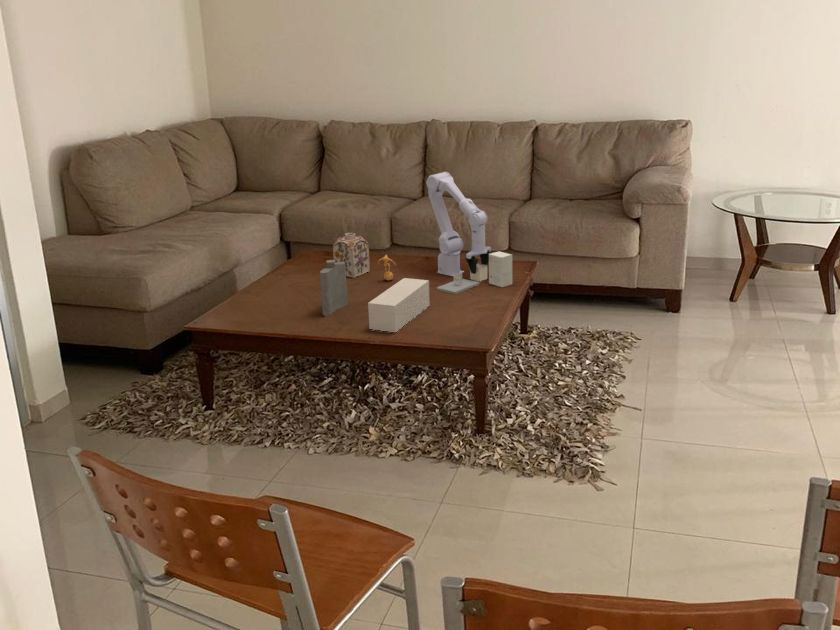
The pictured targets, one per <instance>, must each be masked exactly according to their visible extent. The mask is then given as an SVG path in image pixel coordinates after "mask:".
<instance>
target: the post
mask: <svg viewBox="0 0 840 630" xmlns="http://www.w3.org/2000/svg"><path fill="white" fill-rule="evenodd" d="M462 279H463V273H459V272H457V273H454V276H453V281H454V285H455V286H461V285H463V283H462Z"/></svg>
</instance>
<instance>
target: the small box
mask: <svg viewBox="0 0 840 630" xmlns="http://www.w3.org/2000/svg"><path fill="white" fill-rule="evenodd" d="M490 253H491V254H489V262H488V284H490V285H492V286H493V285H494V286H496V287H499V288H504V287H508V286H511V285H513V254H511V253H509V252H508V253H507V252H504V251H503V252H502V251H501V250H500V251H495V252H490Z"/></svg>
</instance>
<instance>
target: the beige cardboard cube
mask: <svg viewBox="0 0 840 630" xmlns="http://www.w3.org/2000/svg"><path fill="white" fill-rule="evenodd" d="M469 273H470V274H469V276H470V277H469V280H470V279H471V281H475V282H479V281H480V282H483V281H486V280H488V266H487V265H483V264H481V263H478V262H477V266H476V274H473V273H471V271H470V270H469ZM482 280H483V281H482Z"/></svg>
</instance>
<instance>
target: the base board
mask: <svg viewBox="0 0 840 630" xmlns="http://www.w3.org/2000/svg"><path fill="white" fill-rule="evenodd" d="M462 283H463V285H461V286H455V285H454V280H453V281H450V282H447V283H445V284H443V285H439V286H437V287H436V290H437V291H439V290H440V292H444V293H448V294H452V295H457V294H460V293H463V292H465V291H468V290H470V289H472V288H475V287H476V286H477V287H478V286H479V285H480V282H479V281H475V280H470V279H465V278H462ZM474 286H475V287H474ZM469 288H470V289H469Z"/></svg>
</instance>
